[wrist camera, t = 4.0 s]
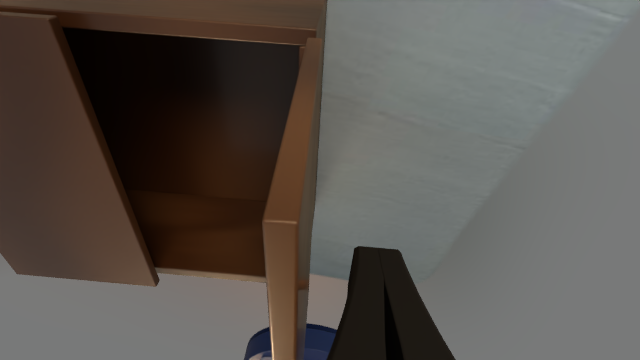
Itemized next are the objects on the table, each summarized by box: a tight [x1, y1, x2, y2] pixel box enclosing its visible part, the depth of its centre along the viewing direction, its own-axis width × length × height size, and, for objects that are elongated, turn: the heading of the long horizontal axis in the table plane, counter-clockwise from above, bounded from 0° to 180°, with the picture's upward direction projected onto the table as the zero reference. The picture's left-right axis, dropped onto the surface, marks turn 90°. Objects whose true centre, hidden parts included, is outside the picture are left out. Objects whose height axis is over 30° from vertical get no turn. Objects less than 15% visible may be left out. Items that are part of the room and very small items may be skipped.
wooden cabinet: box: [0, 0, 327, 287], centre depth 15 cm, size 14×12×7 cm
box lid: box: [262, 38, 322, 360], centre depth 10 cm, size 7×12×1 cm
